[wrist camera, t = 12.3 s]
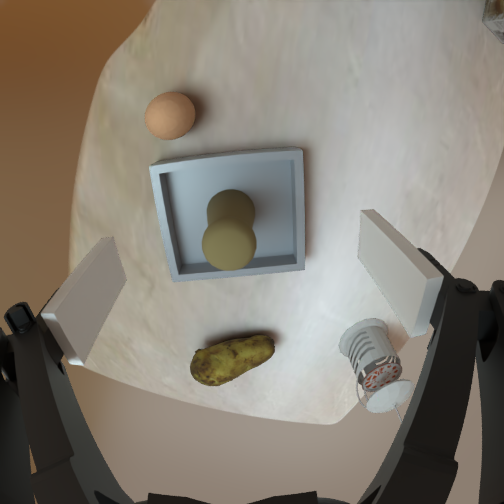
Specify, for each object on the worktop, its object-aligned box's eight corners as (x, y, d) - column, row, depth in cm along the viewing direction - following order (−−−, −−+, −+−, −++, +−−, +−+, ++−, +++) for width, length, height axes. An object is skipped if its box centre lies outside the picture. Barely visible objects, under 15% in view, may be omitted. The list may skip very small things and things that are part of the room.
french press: (396, 320, 47) (461, 430, 25) (369, 364, 52) (413, 470, 30) (351, 316, 46) (410, 446, 23) (326, 363, 51) (362, 483, 28)
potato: (266, 362, 49) (270, 397, 42) (193, 356, 48) (188, 392, 41) (275, 327, 46) (282, 364, 39) (194, 320, 44) (188, 357, 37)
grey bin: (296, 146, 34) (302, 150, 30) (299, 257, 40) (304, 269, 37) (156, 161, 33) (149, 166, 30) (177, 268, 40) (172, 282, 37)
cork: (263, 201, 36) (274, 237, 26) (242, 242, 38) (244, 289, 28) (218, 180, 34) (211, 208, 24) (198, 223, 36) (185, 266, 27)
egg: (188, 86, 30) (176, 79, 23) (205, 125, 32) (198, 128, 26) (147, 106, 30) (127, 106, 24) (165, 145, 33) (149, 152, 26)
